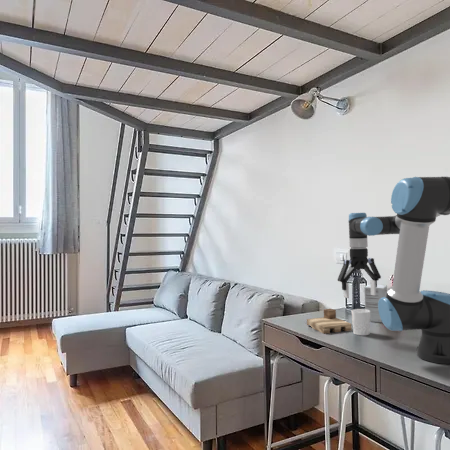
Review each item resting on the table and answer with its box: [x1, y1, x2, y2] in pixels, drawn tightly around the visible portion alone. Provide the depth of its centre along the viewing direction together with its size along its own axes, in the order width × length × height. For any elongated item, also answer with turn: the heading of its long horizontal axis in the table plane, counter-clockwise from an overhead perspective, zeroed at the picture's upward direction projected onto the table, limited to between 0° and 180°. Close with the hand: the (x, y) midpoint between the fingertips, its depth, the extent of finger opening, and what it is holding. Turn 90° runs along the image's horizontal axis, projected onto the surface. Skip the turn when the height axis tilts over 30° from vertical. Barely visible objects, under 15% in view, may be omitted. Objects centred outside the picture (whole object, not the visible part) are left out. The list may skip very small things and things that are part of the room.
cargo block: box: [323, 308, 337, 319], centre depth 197 cm, size 4×4×4 cm
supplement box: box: [363, 283, 388, 324], centre depth 202 cm, size 10×9×17 cm
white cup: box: [350, 308, 371, 336], centre depth 179 cm, size 8×8×10 cm
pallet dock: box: [306, 316, 353, 335], centre depth 190 cm, size 16×14×3 cm
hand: (359, 296), depth 179 cm, fingers open, 13 cm apart
